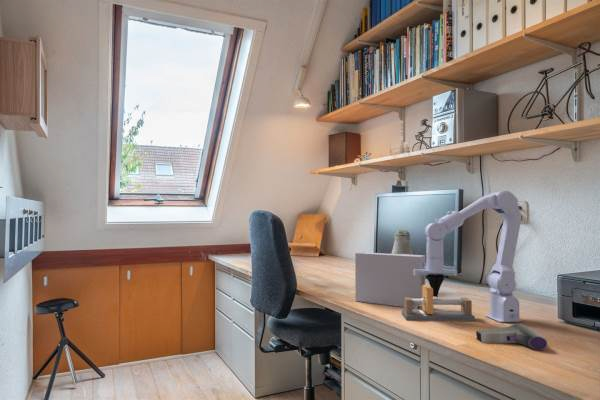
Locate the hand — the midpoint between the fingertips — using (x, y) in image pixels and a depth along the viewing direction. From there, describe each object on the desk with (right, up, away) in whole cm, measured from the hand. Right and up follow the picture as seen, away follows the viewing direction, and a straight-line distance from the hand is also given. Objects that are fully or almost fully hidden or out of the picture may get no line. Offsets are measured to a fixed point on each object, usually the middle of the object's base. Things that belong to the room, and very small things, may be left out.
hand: (435, 296), depth 151 cm
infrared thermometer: (+12, -8, -30) cm, 33 cm away
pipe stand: (+1, -7, 0) cm, 7 cm away
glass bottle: (0, -9, +50) cm, 51 cm away
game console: (-11, -8, +22) cm, 26 cm away
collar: (-3, -5, 0) cm, 6 cm away
